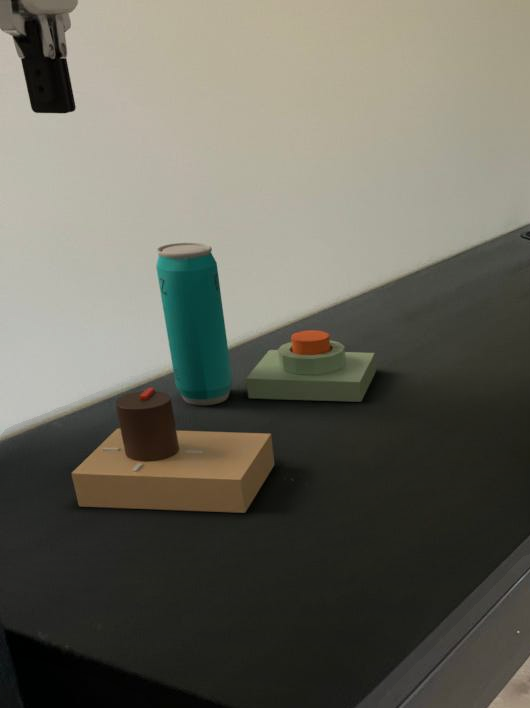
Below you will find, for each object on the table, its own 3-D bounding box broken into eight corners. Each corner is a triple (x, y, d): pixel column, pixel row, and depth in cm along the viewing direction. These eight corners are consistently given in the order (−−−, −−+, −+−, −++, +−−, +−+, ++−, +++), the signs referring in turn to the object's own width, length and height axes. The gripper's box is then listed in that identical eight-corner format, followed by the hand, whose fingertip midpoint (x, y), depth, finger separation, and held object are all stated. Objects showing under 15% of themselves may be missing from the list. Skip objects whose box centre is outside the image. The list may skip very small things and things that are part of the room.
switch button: (289, 357, 104) (287, 340, 103) (297, 345, 108) (295, 329, 107) (326, 358, 104) (325, 341, 103) (333, 346, 107) (332, 330, 106)
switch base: (248, 398, 104) (243, 361, 102) (271, 368, 112) (267, 333, 110) (361, 402, 103) (358, 364, 101) (376, 372, 112) (374, 336, 109)
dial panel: (78, 506, 82) (70, 471, 80) (123, 459, 90) (116, 426, 88) (245, 513, 81) (240, 477, 79) (274, 464, 89) (271, 431, 88)
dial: (169, 462, 82) (159, 406, 79) (117, 460, 82) (106, 404, 80) (185, 442, 86) (177, 388, 83) (136, 440, 86) (125, 386, 83)
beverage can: (231, 387, 107) (211, 240, 99) (237, 404, 102) (217, 252, 94) (176, 392, 105) (151, 243, 97) (180, 410, 101) (155, 256, 93)
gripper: (-2, -150, 81) (49, 103, 91) (-104, -177, 69) (-32, 120, 79) (87, -150, 81) (129, 105, 91) (1, -176, 68) (60, 122, 78)
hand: (54, 111), depth 85 cm, fingers closed
